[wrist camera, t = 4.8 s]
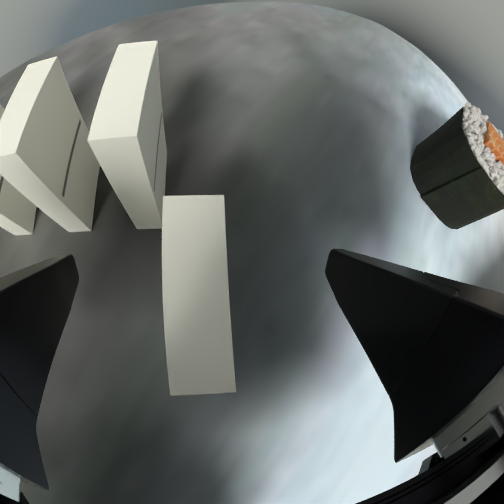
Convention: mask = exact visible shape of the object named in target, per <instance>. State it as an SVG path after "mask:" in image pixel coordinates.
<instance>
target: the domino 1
mask: <svg viewBox="0 0 504 504" xmlns="http://www.w3.org/2000/svg"><path fill="white" fill-rule="evenodd" d="M4 111H5V110H4V109H3V107H2V106H1V104H0V120H1V118H2V115H3V113H4ZM36 208H37V206H36V205H35V204H33V203H32V202H31V201H30V200H29V199H27V198H26V197H25V196H24V195H23V194H22V193H21V192H19V191H18V190H17V189H16V188H15V187H14V186H13V185H11V184H10V183H9V182H8V181H7V180H6V179H5V178H4V177H3V176H2V175H1V174H0V227H2V228H3V229H5V230H7V231H8V232H10V233H12V234H14V235H29V234H33V228H34V221H35V214H36Z"/></svg>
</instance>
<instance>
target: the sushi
mask: <svg viewBox="0 0 504 504" xmlns="http://www.w3.org/2000/svg"><path fill="white" fill-rule="evenodd" d="M486 120H488V116H487V115H485V116H483V115H482V114H481V111H480V108H476V107H475V106H471V104H470V103H469V102H467V103H466V104H465V107H462V108H461V109H460V110H459V111H458V112H457V113H456V114H455V115H454V116H453V117H451V118H450V119H449V120H448V121H447V122H446V123H445V124H444V125H443V126H441V127H440V128H439V129H438V130H437V131H435V132H434V133H433V134H431V135H430V136H429V137H428V138H426V139H425V140H424V141H423V142H421V143H420V144H419V145H418V146H417V147H416V149H415V152H414V154H413V157H412V160H411V168H410V169H411V173H412V177H413V181H414V183H415V185H416V187H417V190H418V191H419V193H420V194H421V198H422V199H423V200H424V201H425V203H426V204H427V205H428V206H429V207H430V208H431V210H432V211H433V212H434V213H435V215H436V216H437V217H438V218H439V219H440V220H441V221H442V222H443V223H444V224H445V225H446V226H448V227H449V228H451V229H459V228H461V227H463V226H466V225H468V224H470V223H473V222H475V221H477V220H480V219H482V218H484V217H487V216H489V215H491V214H493V213H496V212H498V211H500V210H502V209H504V137H503V134H502V131H501V130H497V129H496V128H495V127H494V125H493V124H491V123H490V122H489V121H486Z"/></svg>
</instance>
